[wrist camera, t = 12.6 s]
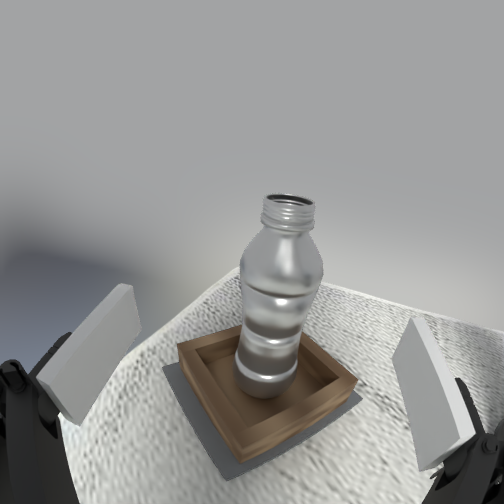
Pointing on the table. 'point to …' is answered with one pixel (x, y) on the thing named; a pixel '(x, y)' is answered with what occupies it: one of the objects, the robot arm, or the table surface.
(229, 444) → the wooden tray
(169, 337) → the table surface
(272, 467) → the table surface
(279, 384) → the plastic bottle
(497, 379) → the table surface
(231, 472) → the mat
